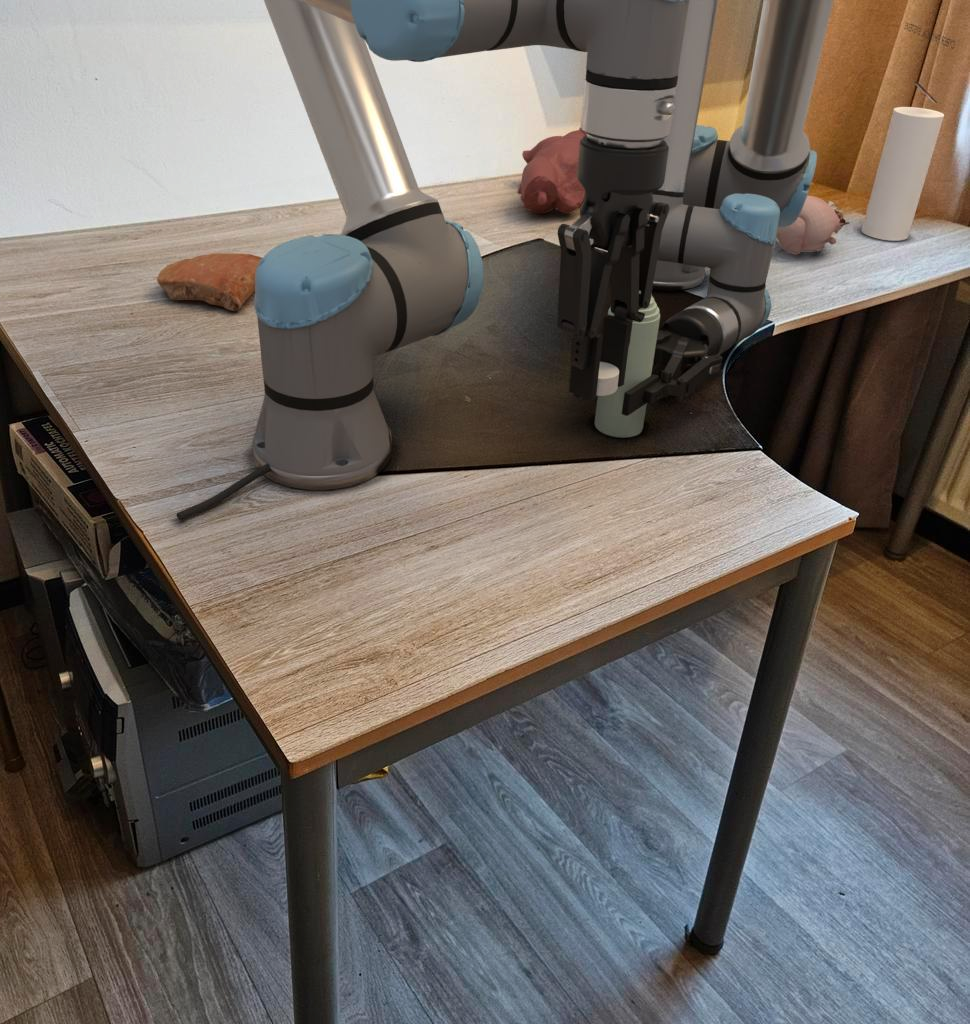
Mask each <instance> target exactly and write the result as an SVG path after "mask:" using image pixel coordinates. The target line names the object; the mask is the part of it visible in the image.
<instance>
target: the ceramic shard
mask: <svg viewBox="0 0 970 1024" xmlns="http://www.w3.org/2000/svg"><path fill="white" fill-rule="evenodd" d="M262 258H263V257H262V256H259V255H254V254H251V253H210V254H203V255H196V256H194V257H191V258H184V259H181V260H178V261H176V262H173V263H169V264H167V265H166V266H165V267H164V268H163V269H162V270H160V272H159V273H158V275H157V277H156V282H157V284H158V285H159V286H160V287H161V288H162V289H163V290H164V291H165V293H166V295H167V296H168V297H169V299H170V300H171V301H204V302H206V303H207V304H209V305H214V306H218V307H219V306H220V307H222V308H224V309H226V310H228V311H231V312H232V311H233V312H236V311H239V310H240V309H241V308H242V307H243V305H244V304H245V302H246V301H247V300H248V299H249V298H250V297H251V296H252V294H253V293H255V273H256V270H257V267H258V264H259V262H260V261H261V259H262Z"/></svg>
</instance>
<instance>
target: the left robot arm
mask: <svg viewBox="0 0 970 1024" xmlns="http://www.w3.org/2000/svg"><path fill="white" fill-rule="evenodd" d="M689 1H690V0H263V2H264V4H265V8H266V11H267V12H268V15H269V18H270V20H271V23H272V25H273V28H274V31H275V33H276V36H277V39H278V41H279V44H280V46H281V49H282V52H283V55H284V57H285V59H286V62H287V65H288V67H289V71H290V72H291V73H290V74H291V76H292V79H293V80H294V84H295V86H296V89H297V91H298V93H299V97H300V99H301V101H302V104H303V108H304V109H305V112H306V114H307V115H306V116H307V117H308V120H309V124H310V125H311V128H312V130H313V131H312V132H313V133H314V135H315V138H316V141H317V144H318V146H319V149H320V152H321V155H322V156H323V160H324V162H325V164H326V167H327V171H328V172H329V176H330V178H331V181H332V183H333V185H334V188H335V190H336V194H337V195H338V199H339V202H340V203H341V206H342V209H343V212H344V214H345V222H344V225H343V227H342V230H341V233H340V234H339V233H337V234H335V233H323V234H321V235H319V236H314V235H306V236H301V237H297V238H294V239H290V240H288V241H286V242H283V243H280V244H278V245H276V246H275V247H273V248H272V249H271V250H269V251H268V252H267V253H265V255H264V256H263V257H262V259H261V261H260V262H259V264H258V267H257V270H256V273H255V291H254V302H253V307H254V311H255V314H256V317H257V326H258V327H257V328H258V329H257V330H258V337H259V348H260V359H261V369H262V378H263V388H264V390H263V391H264V396H263V400H262V404H261V408H260V412H259V415H258V419H257V423H256V427H255V430H254V434H253V439H252V455H253V460H254V464H255V467H256V469H255V470H254V471H251V472H250V473H248V474H247V475H245V476H244V477H242V478H240V479H239V480H237V481H236V482H234V483H232V484H231V485H230V486H228V487H226V488H225V489H224V490H222V491H220V492H219V493H217V494H215V495H213V496H211V497H210V498H207V499H206V500H203V501H202V502H200V503H197V504H195V505H193V506H190V507H187V508H186V509H182V510H181V511H178V512H177V513H176V515H175V516H176V518H177V520H178V521H184V520H185V519H187V518H190V517H192V516H194V515H197V514H199V513H201V512H204V511H205V510H208V509H210V508H212V507H214V506H216V505H218V504H220V503H221V502H223V501H225V500H227V499H228V498H230V497H231V496H233V495H234V494H236V493H237V492H238V491H240V490H243V488H245V487H246V486H248V485H250V484H251V483H253V482H255V481H256V480H258V479H260V478H261V477H263V476H265V477H266V478H268V479H269V480H271V481H273V482H275V483H278V484H280V485H283V486H286V487H290V488H295V489H301V490H312V491H314V490H315V491H323V490H327V491H328V490H337V489H342V488H348V487H351V486H355V485H358V484H361V483H363V482H366V481H368V480H370V479H373V478H374V477H375V476H377V475H378V474H380V473H381V472H382V471H383V470H384V469H385V468H386V467H387V466H388V464H389V463H390V461H391V458H392V441H393V439H392V432H391V431H390V426H389V427H388V424H387V422H386V419H385V417H384V413H383V411H382V408H381V406H380V403H379V400H378V398H377V395H376V393H375V385H374V359H375V358H376V357H378V356H381V355H383V354H385V353H386V354H387V353H389V352H392V351H395V350H397V349H400V348H402V347H407V346H409V345H411V344H414V343H416V342H419V341H422V340H425V339H427V338H430V337H436V336H439V335H441V334H444V333H447V332H448V331H450V330H451V328H454V327H456V326H459V325H460V324H462V323H464V322H465V321H467V320H468V319H469V318H470V317H471V316H472V314H473V313H474V312H475V311H476V309H477V307H478V305H479V302H480V296H481V295H482V293H483V289H484V283H485V273H484V264H483V258H482V254H481V251H480V248H479V246H478V244H477V241H476V240H475V238H474V237H473V235H472V234H471V232H469V230H465V229H464V226H463V225H461V224H460V223H458V222H455V221H450V220H447V219H446V218H445V216H444V214H443V211H442V208H441V205H440V202H439V200H438V199H436V198H435V197H432V196H431V195H429V194H427V193H425V192H423V191H422V190H421V189H420V188H419V185H418V183H417V180H416V179H417V178H416V177H415V174H414V171H413V169H412V166H411V163H410V159H409V158H408V156H407V155H408V154H407V153H406V150H405V147H404V143H403V141H402V139H401V135H400V133H399V130H398V127H397V125H396V122H395V119H394V116H393V114H392V111H391V109H390V105H389V102H388V100H387V97H386V95H385V92H384V88H383V87H382V85H381V81H380V78H379V76H378V73H377V70H376V67H375V65H374V62H373V59H372V57H371V53H370V52H372V53H373V54H374V55H375V56H377V57H379V58H381V59H383V60H387V61H391V62H398V61H409V62H413V63H423V62H428V61H432V60H435V59H439V58H446V57H453V56H454V57H455V56H460V55H461V56H462V55H468V54H475V53H481V52H491V51H500V50H508V49H516V48H523V47H524V48H525V47H531V46H545V47H553V48H560V49H565V50H573V51H576V52H583V53H586V66H585V79H584V86H583V87H584V88H583V98H582V107H581V109H582V110H581V117H580V118H581V119H580V127H581V128H582V130H583V131H584V132H585V133H586V134H587V135H585V136H584V137H583V139H581V140H580V146H579V157H578V168H577V179H578V181H579V182H580V183H581V184H582V186H583V187H584V189H585V195H584V199H583V202H582V204H581V205H580V211H579V217H578V218H577V219H576V220H575V221H574V222H573V223H572V224H571V225H570V224H567V223H562V224H560V225H559V226H558V228H557V238H558V243H559V248H560V263H559V264H560V265H559V280H558V281H559V283H558V303H557V321H556V326H557V329H559V330H561V331H564V332H566V333H569V334H571V335H572V339H571V348H570V350H571V351H570V359H569V361H570V365H571V367H570V378H569V389H568V392H569V393H571V394H573V395H574V394H575V395H578V396H580V397H579V398H582V399H585V400H586V401H589V402H592V401H595V400H596V399H597V396H596V393H597V384H598V375H599V366H600V362H606V363H609V364H612V365H614V366H616V367H617V368H618V369H619V379H618V387H620V386H622V385H624V379H625V372H626V364H627V356H628V348H629V344H630V339H631V338H630V337H631V332H632V324H633V320H634V321H636V322H639V323H640V322H642V321H643V319H644V317H645V313H642V312H639V310H640V309H641V308H643V309H646V308H647V307H648V306H649V304H650V300H651V294H652V295H653V289H652V288H653V282H654V276H655V270H656V264H657V258H658V252H659V246H660V240H661V234H662V229H663V226H664V224H665V221H666V218H667V215H668V212H669V205H668V204H666V203H662V202H659V201H655V200H653V195H652V192H655V191H657V190H658V189H660V188H661V187H662V186H663V184H664V180H665V173H666V166H667V158H668V151H669V146H668V145H667V143H666V142H665V141H664V140H663V139H664V138H666V137H667V136H668V135H669V134H670V133H671V125H672V117H673V112H674V110H675V105H674V101H675V93H676V85H677V80H678V74H679V73H678V70H679V63H680V57H681V50H682V44H683V37H684V31H685V24H686V18H687V13H688V7H689ZM648 225H649V226H648ZM609 282H610V307H611V312H612V313H614V316H612V315H608V314H607V315H605V316H604V317H603V324H602V334H600V333H598V331H599V327H600V322H601V318H602V313H603V310H604V304H605V300H606V295H607V291H608V287H609ZM639 291H641V294H639Z"/></svg>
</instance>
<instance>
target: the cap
mask: <svg viewBox="0 0 970 1024" xmlns="http://www.w3.org/2000/svg"><path fill="white" fill-rule="evenodd" d="M618 379H619V369H618V368H617V367H616V366H614V365H612V364H609V363H606V362H600V366H599V375H598V384H597V393H596V397H598V396H606V395H610V394H613V393H615V392H616V390H617V387H618Z"/></svg>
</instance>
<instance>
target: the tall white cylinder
mask: <svg viewBox="0 0 970 1024" xmlns="http://www.w3.org/2000/svg"><path fill="white" fill-rule="evenodd" d="M904 30H905V31H907V32H910V33H912V32H913V34H915V33H916V34H917V35H918V36H921V37H923V38H924V37H925V39H928V40H930V41H931V40H932V41H933V42H937V40H938V44H939V43H940V44H942V45H943V46H946V47H947V48H948V47H949V49H950V48H951V49H952V50H953V49H954V48H955V45H956V40H954V39H951V38H948V37H946V36H942V37H941V34H938V35H937V33H934V32H933V31H931V30H926V29H923V34H921V31H922V27H920V26H918V25H915V24H912V23H909V22H908V21H907V22H905V26H904ZM927 33H928V35H927ZM940 37H941V38H940ZM940 39H941V42H940ZM945 39H946V40H945ZM944 42H945V43H944ZM952 43H954V44H953V46H952ZM913 84H914V85H915V86H916V87H917V88H919V90H920V91H921V92H922V95H923V96H924V97H926V98H928V99H929V100H930V101H931V102H932V103H934V104H937V103H938V101H937V100H936V99H935V98H934V97H932V95H931V94H930V93H929V92H928V91H927V90H926V89H925V88H924V87H923V86H922V85H921V84H920V83H919V82H918V81H915V80H914V82H913ZM944 117H945V114H944V113H943V112H940V111H937V110H936V109H935V110H934V109H929V108H924V107H915V106H914V107H913V106H897V107H894V108H893V110H892V114H891V118H890V122H889V126H888V129H887V133H886V137H885V140H884V145H883V148H882V151H881V155H880V159H879V163H878V166H877V170H876V174H875V177H874V182H873V185H872V189H871V193H870V196H869V201H868V203H867V208H866V212H865V215H864V220H863V222H862V227H861V232H862V233H863V234H864V235H866V236H868V237H871V238H873V239H878V240H884V241H893V242H895V241H897V242H898V241H899V242H900V241H905V240H907V239H909V236H910V233H911V229H912V226H913V222H914V219H915V215H916V211H917V210H918V209H917V208H918V206H919V202H920V198H921V195H922V191H923V188H924V184H925V182H926V178H927V175H928V171H929V169H930V165H931V161H932V158H933V155H934V151H935V148H936V145H937V142H938V141H937V140H938V138H939V134H940V130H941V127H942V124H943V121H944Z"/></svg>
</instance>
